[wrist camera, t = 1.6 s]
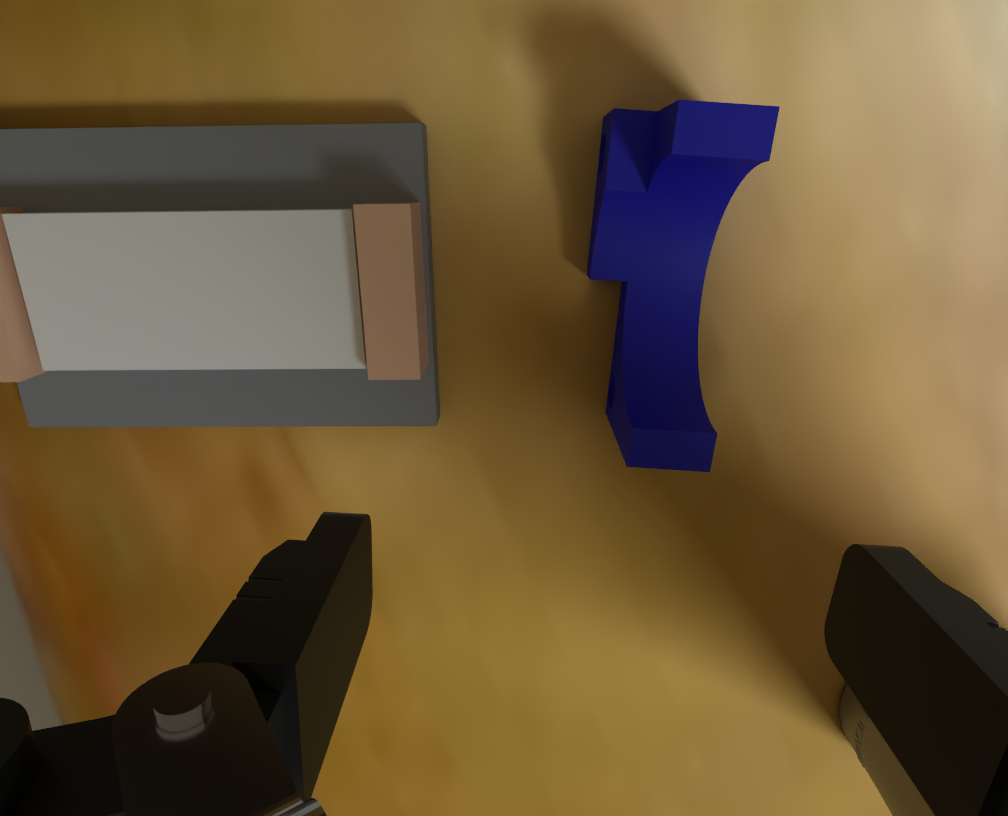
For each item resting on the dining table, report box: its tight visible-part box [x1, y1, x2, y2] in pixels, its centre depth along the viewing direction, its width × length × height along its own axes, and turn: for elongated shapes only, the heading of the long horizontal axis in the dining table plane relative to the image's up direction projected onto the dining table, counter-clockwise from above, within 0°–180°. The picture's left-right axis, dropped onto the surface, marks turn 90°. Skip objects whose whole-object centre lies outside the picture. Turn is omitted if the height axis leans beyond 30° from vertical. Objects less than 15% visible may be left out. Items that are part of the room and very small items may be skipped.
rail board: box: [0, 123, 440, 427], centre depth 25 cm, size 18×12×4 cm, turn 91°
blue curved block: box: [587, 100, 779, 472], centre depth 23 cm, size 12×4×6 cm, turn 176°
